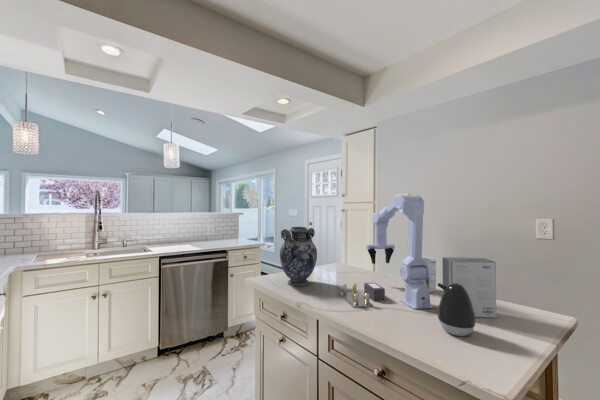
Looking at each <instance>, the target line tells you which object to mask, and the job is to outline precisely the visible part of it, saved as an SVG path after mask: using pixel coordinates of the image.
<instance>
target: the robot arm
mask: <svg viewBox="0 0 600 400" xmlns="http://www.w3.org/2000/svg"><path fill="white" fill-rule="evenodd" d="M398 211H399V212H400V213H401V214H402V215H404V216H406V217H407V218H408V229H407V230H408V231H407V256H405V258H404V259H403V260H402V261H401V266H400V268H399V269H400V270H399V274H400V276H401V278H402V280H403V281H404V298H401V299H400V302H402V303H404V304H405V305H407V306H408V307H410V308H412V309H414V310H420V309H431V308H433V306H432V305H431V292H430V290H429V288H428V287H426V286H425V282H426V280H427V279H428V278H429V269H428V263H427V262H426V261H425V260H424V259H423V258H424V257H423V229H424V228H423V227H424V214H425V212H424V211H425V200H424V198H423V197H422V196H421V195H418V194H416V195H409V194H408V195H407V194H406V195H403V194H399V195H397V196H396V197H395V198H394V202H393V203H391V204H390V205H384V207H383V209H381V210H380V211H379V212H377V211H376V212H374V213H373V214H372V222H373V223H374V244H366V248H365V249H366V251H367V252H368V254H369V257H370V261H371V264H372V265H375V264H376V253H377V250H384V255H385V263H386V264H390V261H391V257H392V255H393V253H394V252H395V244H388V243H387V237H388V236H387V229H388V225H389V221H390V219H392V218H393V217H394V216H395V215H396V212H398Z"/></svg>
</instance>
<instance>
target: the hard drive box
mask: <svg viewBox="0 0 600 400" xmlns="http://www.w3.org/2000/svg"><path fill="white" fill-rule="evenodd" d="M441 265H442V285H444V286H449V285H450V284H453V283H457V284H460V285H462V286H463V287H464V288H465V290H466V291H467V293H468V295H469V297H470V300H471V302H472V305H473V309H474V314H475V318H486V319H487V318H491V319H492V318H497V277H496V276H497V274H496V270H497V268H496V266H497V265H496V261H494V260H492V259H488V258H485V257H461V256H460V257H458V256H457V257H451V256H449V257H447V256H445V257H442V264H441ZM444 291H445V290H443V289H442V294H443V293H444Z"/></svg>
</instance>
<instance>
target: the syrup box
mask: <svg viewBox="0 0 600 400" xmlns="http://www.w3.org/2000/svg"><path fill="white" fill-rule="evenodd" d="M422 258H423V259H424V260H425V261H426V262H427V263H428V269H429V278H428V279H427V280H426V282H425V286H426V287H428V288H429V290H430V293H434V292H437V260H436V259H430V258H427V257H422Z"/></svg>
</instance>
